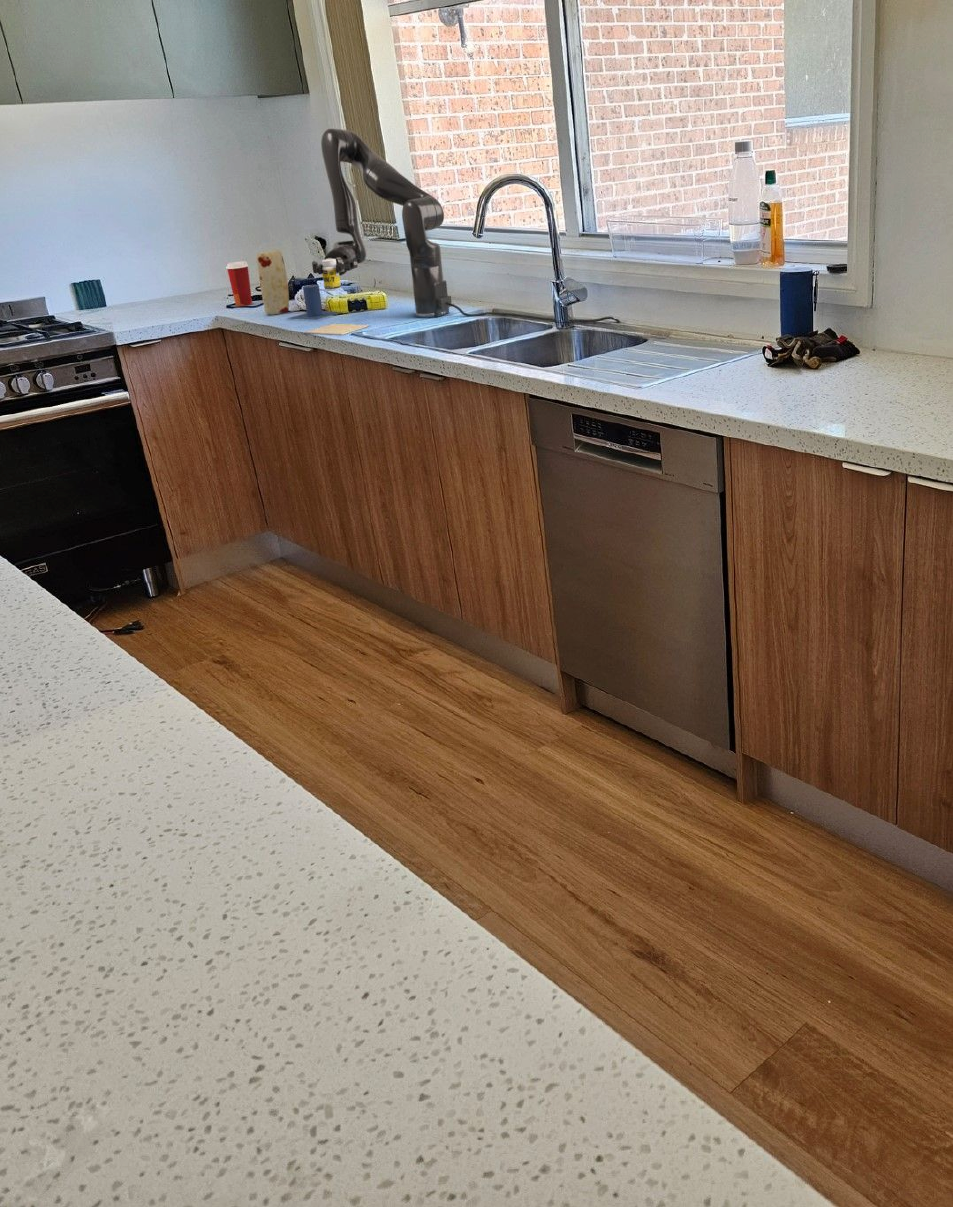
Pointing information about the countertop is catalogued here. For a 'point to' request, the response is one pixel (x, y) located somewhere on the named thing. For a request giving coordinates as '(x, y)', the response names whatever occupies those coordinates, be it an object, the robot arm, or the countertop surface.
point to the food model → (273, 282)
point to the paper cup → (240, 282)
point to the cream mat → (337, 329)
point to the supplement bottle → (330, 275)
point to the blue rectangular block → (312, 300)
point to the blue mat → (325, 314)
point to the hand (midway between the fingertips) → (328, 270)
